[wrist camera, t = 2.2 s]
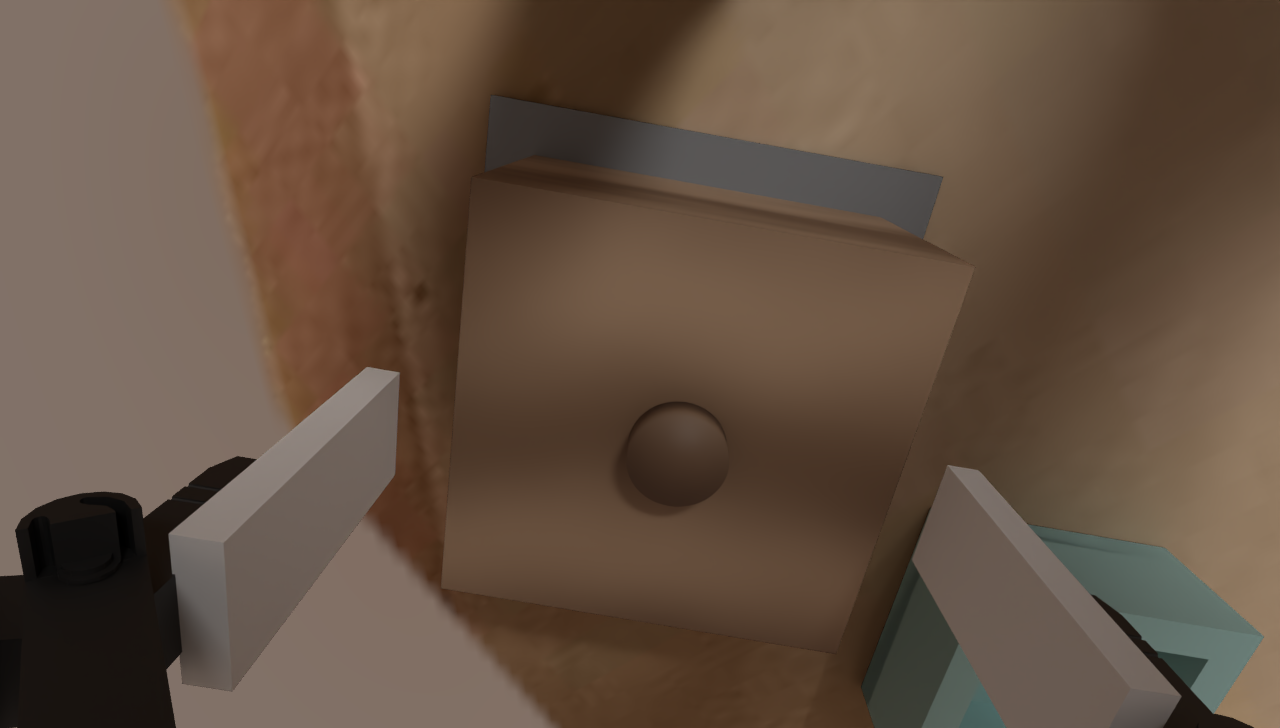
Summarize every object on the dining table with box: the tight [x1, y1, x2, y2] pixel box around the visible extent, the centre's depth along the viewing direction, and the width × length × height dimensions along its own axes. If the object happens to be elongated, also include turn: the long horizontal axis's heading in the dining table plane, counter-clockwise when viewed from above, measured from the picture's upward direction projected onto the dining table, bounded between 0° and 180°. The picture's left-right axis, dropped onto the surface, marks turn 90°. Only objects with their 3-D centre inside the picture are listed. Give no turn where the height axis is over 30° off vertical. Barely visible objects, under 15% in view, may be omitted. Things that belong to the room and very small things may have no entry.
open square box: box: [861, 508, 1264, 728], centre depth 24 cm, size 9×9×4 cm
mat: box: [485, 95, 943, 239], centre depth 23 cm, size 14×14×1 cm
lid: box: [441, 155, 976, 654], centre depth 19 cm, size 11×11×8 cm
